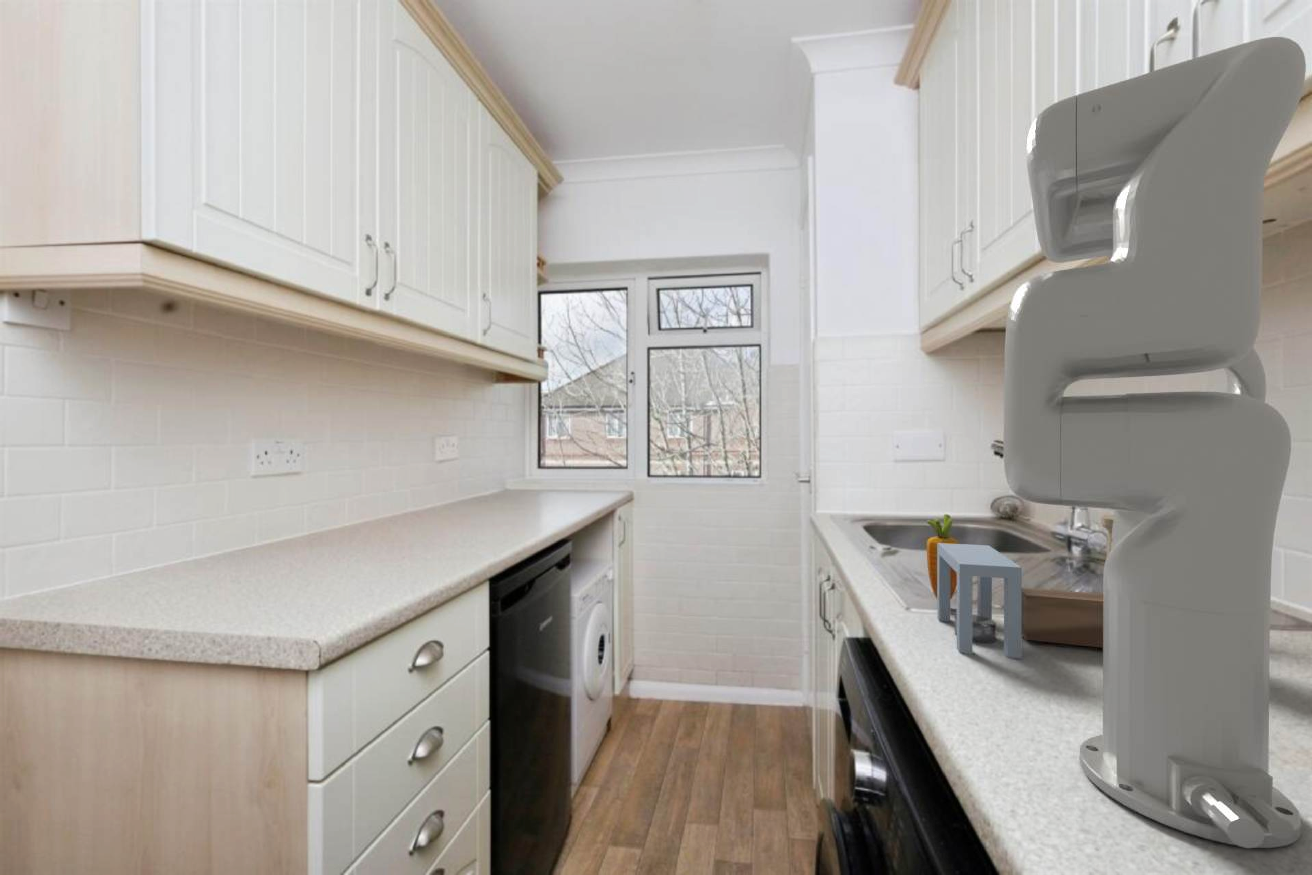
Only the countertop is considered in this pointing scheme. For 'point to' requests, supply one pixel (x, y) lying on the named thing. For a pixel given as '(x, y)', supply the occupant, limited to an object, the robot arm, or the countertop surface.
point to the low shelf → (979, 591)
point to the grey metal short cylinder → (981, 629)
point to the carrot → (932, 553)
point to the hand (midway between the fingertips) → (1147, 639)
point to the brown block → (1062, 616)
